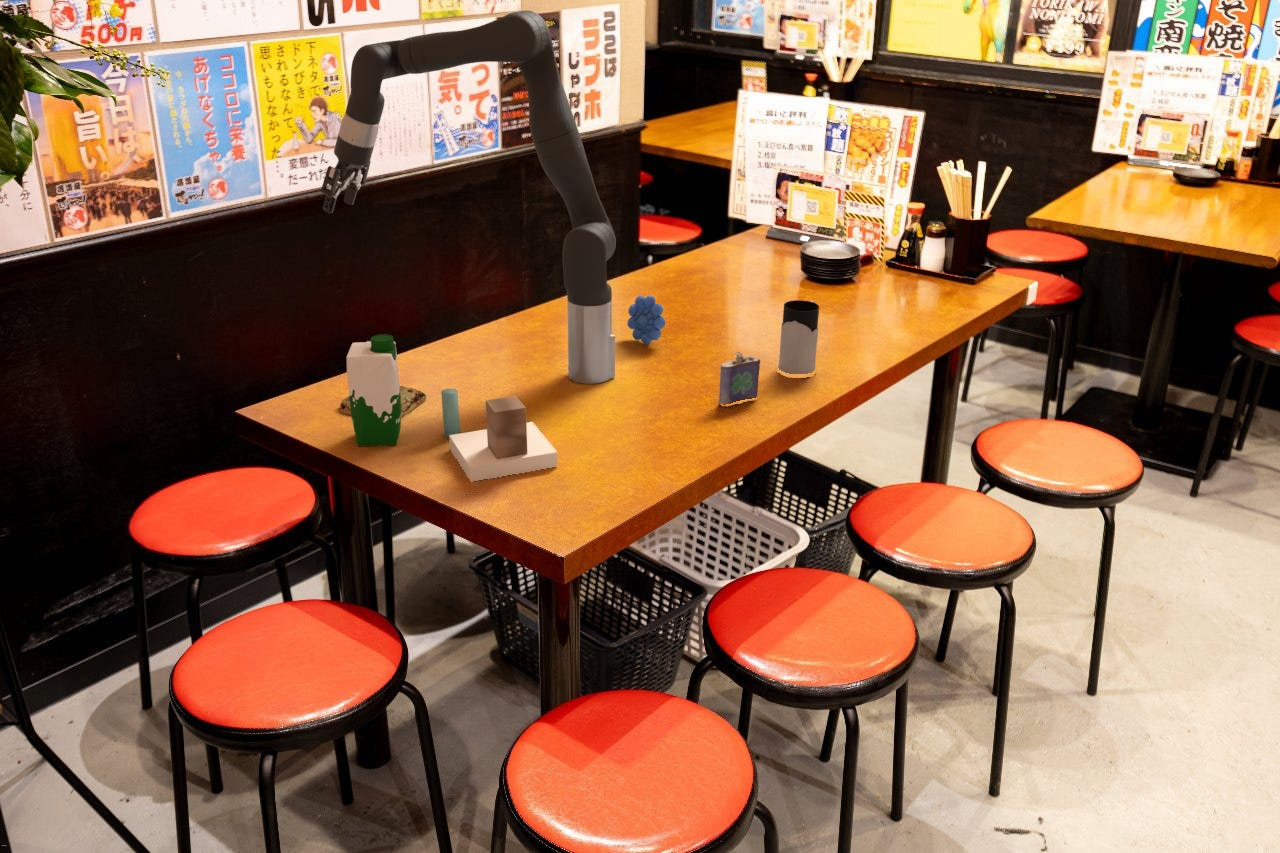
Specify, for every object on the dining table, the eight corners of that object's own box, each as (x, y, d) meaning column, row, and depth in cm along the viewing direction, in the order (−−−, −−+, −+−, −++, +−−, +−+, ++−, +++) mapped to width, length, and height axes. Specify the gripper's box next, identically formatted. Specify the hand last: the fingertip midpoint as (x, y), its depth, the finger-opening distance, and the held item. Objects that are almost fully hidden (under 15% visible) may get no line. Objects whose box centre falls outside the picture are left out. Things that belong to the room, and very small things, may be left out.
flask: (723, 409, 226) (725, 359, 221) (714, 403, 228) (717, 354, 224) (760, 400, 230) (763, 351, 226) (751, 395, 232) (754, 346, 228)
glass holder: (770, 374, 243) (775, 308, 237) (791, 353, 255) (796, 290, 248) (809, 381, 240) (815, 314, 233) (829, 360, 251) (834, 295, 245)
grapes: (676, 346, 258) (678, 296, 253) (656, 353, 253) (657, 302, 248) (641, 333, 265) (642, 284, 260) (620, 340, 261) (621, 290, 256)
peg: (457, 431, 214) (455, 387, 211) (462, 437, 212) (459, 393, 208) (442, 433, 213) (439, 389, 210) (446, 439, 211) (443, 395, 207)
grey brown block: (517, 441, 204) (516, 395, 200) (527, 454, 199) (525, 407, 195) (487, 446, 202) (485, 400, 198) (497, 459, 197) (494, 412, 193)
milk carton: (400, 447, 208) (392, 346, 199) (351, 448, 207) (340, 347, 198) (405, 427, 215) (397, 329, 207) (358, 428, 215) (348, 330, 206)
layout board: (532, 436, 213) (532, 421, 211) (557, 467, 201) (557, 452, 200) (450, 449, 207) (449, 435, 206) (470, 482, 195) (470, 467, 194)
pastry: (333, 397, 230) (332, 383, 228) (417, 385, 235) (416, 372, 234) (346, 430, 215) (344, 416, 214) (436, 417, 221) (435, 403, 220)
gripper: (355, 151, 226) (335, 222, 234) (389, 140, 239) (369, 208, 246) (323, 135, 227) (304, 206, 234) (358, 124, 239) (340, 193, 247)
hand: (338, 207), depth 240 cm, fingers open, 8 cm apart
